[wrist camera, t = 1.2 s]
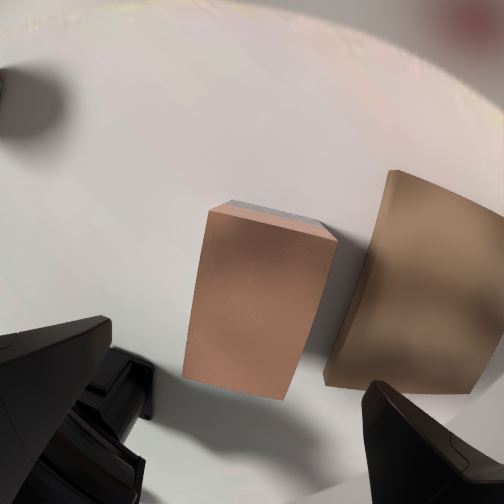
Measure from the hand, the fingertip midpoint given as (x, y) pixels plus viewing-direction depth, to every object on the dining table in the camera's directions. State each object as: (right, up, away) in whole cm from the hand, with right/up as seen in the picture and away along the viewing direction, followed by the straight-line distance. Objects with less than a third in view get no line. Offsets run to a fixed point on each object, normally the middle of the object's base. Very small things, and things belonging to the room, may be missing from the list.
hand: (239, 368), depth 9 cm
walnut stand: (+14, 0, +8) cm, 16 cm away
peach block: (+1, +2, +9) cm, 9 cm away
